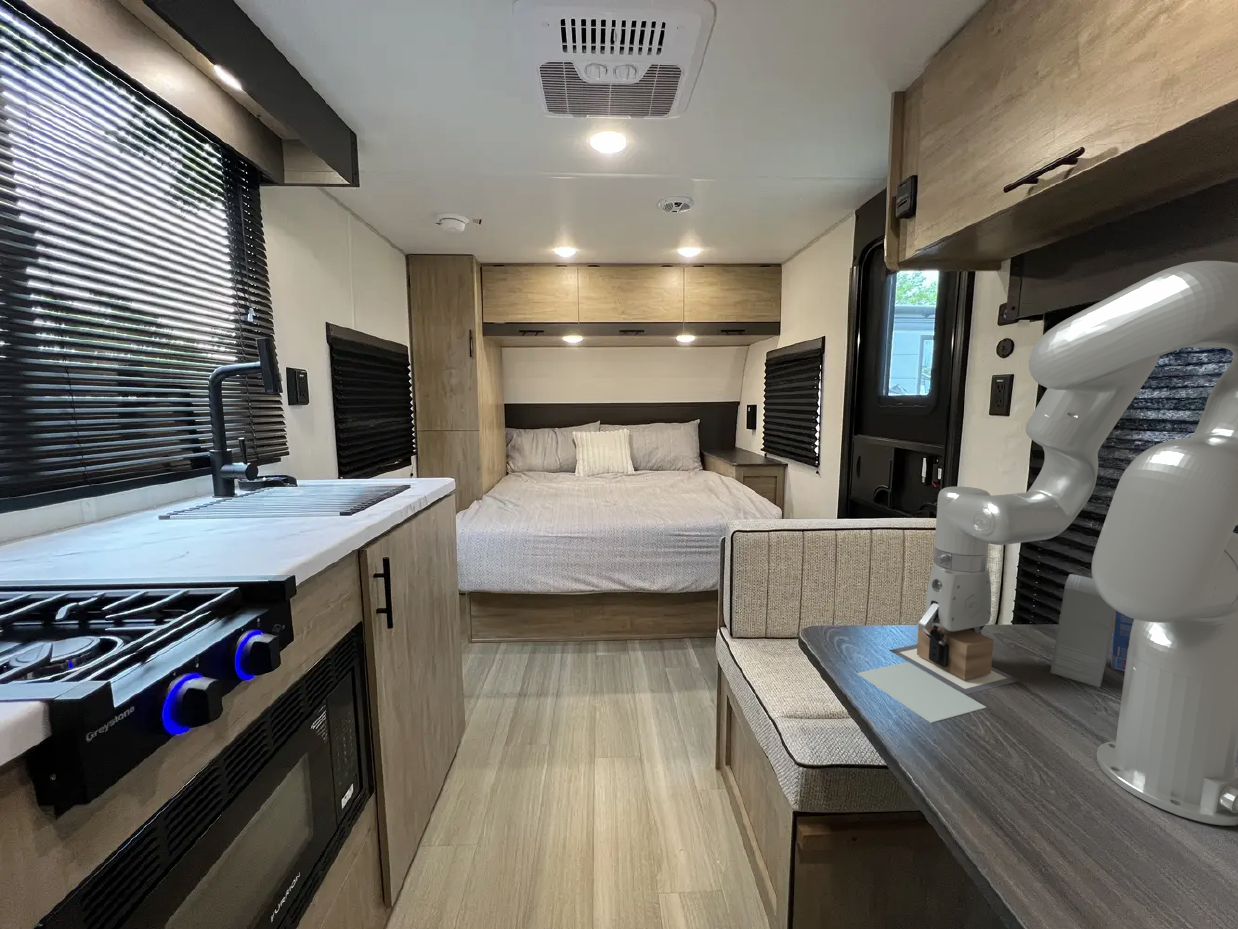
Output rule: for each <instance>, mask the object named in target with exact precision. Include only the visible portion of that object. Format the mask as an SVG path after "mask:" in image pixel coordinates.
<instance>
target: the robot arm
mask: <svg viewBox="0 0 1238 929" xmlns="http://www.w3.org/2000/svg"><path fill="white" fill-rule="evenodd" d="M1184 348H1199V349H1200V348H1207V349H1208V348H1209V349H1210V348H1211V349H1214V348H1215V349H1216V348H1223V349H1226V350H1229V351H1231V352H1232V354H1233V357H1232V360H1231V362H1230V364H1229V366H1227V368H1226V369H1225V371H1224V372H1223V373H1222V374H1221V375H1220V377H1219V378H1218V380H1217V381H1216V382H1215V384H1214V386H1213V388H1212V389H1211V391H1210V393H1209V395H1208V397H1207V400H1206V404H1205V407H1204V411H1203V413H1202V415H1201V416H1200V419H1199V422H1198V424H1197V426H1196V428H1195V429H1194V432H1193V434H1192V435H1191V436H1190V437H1182V438H1181V437H1180V438H1175V439H1172V440H1171V439H1170V440H1168V441H1163V442H1160V443H1158V444H1155V445H1153V446H1151V447H1149V448H1147V449H1146V450H1144V451H1143V452H1141V453H1140V454H1139V455H1137V456H1136V457H1135V458H1134V459H1133V460H1132V461H1131V463H1129V465H1128V466H1127V467H1126V468H1125V469H1124V472H1123V473H1122V475H1121V477H1120V478H1119V481H1118V484H1117V486H1116V488H1115V492H1114V494H1113V497H1112V499H1111V502H1110V504H1109V508H1108V511H1107V514H1106V517H1105V520H1104V523H1103V525H1102V528H1101V531H1100V533H1099V537H1098V539H1097V543H1096V546H1095V548H1094V551H1093V554H1092V555H1093V556H1092V561H1091V577H1092V579H1093V582H1094V585H1095V587H1096V589H1097V591H1098V593H1099V594H1100V596H1101V597H1102V598H1103V600H1104V601H1105V602H1106V603H1107V604H1108V605H1109V606H1111V607H1112V608H1113V609H1115V610H1116V611H1118V612H1119V613H1121V614H1123V615H1125V616H1128V617H1130V618H1133V619H1134V621H1133V625H1132V629H1131V634H1130V640H1129V647H1128V652H1127V660H1126V668H1125V672H1124V678H1123V684H1122V692H1121V701H1120V707H1119V708H1120V709H1119V715H1118V724H1117V731H1116V737H1115V738H1116V739H1115V740H1112V741H1107V742H1104V743H1102V744H1100V746H1098V747H1097V751H1096V762H1097V763H1098V766H1099V768H1101V770H1102V771H1103V773H1104V774H1105V775H1106V776H1108V777H1109V778H1110V780H1112V781H1113V782H1114V783H1115V784H1117V785H1118V786H1120V787H1121V788H1123V790H1125V791H1127V792H1129V793H1130V794H1132V795H1133V796H1135V797H1137V798H1138V799H1140V800H1142V801H1144V802H1147V803H1148V804H1150V805H1152V806H1155V807H1157V808H1159V809H1161V810H1164V811H1166V812H1169V813H1171V814H1174V815H1176V816H1179V817H1181V818H1186V819H1189V820H1193V821H1196V822H1200V823H1204V824H1209V825H1218V826H1238V767H1236V763H1237V755H1238V533H1235V532H1234V530H1235V528H1236V526H1238V262H1234V261H1233V262H1230V261H1224V260H1223V261H1221V260H1201V261H1200V260H1198V261H1192V262H1191V261H1190V262H1185V263H1181V264H1178V265H1174V266H1171V267H1169V268H1166V269H1163V270H1160V271H1158V272H1155V273H1153V274H1152V275H1150V276H1147V277H1146V278H1143V279H1140V281H1138V282H1136V283H1133V284H1132V285H1129V286H1127V287H1126V288H1123V289H1122V290H1120V291H1118V292H1116V293H1115V294H1112V295H1111V296H1109V297H1107V298H1105V299H1103V300H1101V301H1099V302H1096V303H1095V304H1093V305H1091V306H1088V307H1087V308H1085V309H1083V310H1081V311H1079V312H1077V313H1075V314H1073V315H1072V316H1070V317H1068V318H1066V319H1064V320H1062V321H1060V322H1059V323H1057V324H1056V325H1055V326H1053V327H1052V328H1050V329H1048V330H1047V331H1046V332H1045V333H1044V334H1043V335H1042V336H1041V337H1040V338H1039V339H1038V340H1037V342H1036V343H1035V344H1034V346H1033V347H1032V349H1031V352H1030V355H1029V360H1028V368H1029V369H1028V370H1029V373H1030V375H1031V378H1032V379H1033V380H1034V381H1035V383H1038V385H1040V386H1043V387H1044V388H1046V390H1045V392H1044V394H1043V395H1042V397H1041V399H1040V401H1039V402H1038V404H1037V406H1036V407H1035V408H1034V411H1033V412H1032V414H1031V416H1030V417H1029V419H1028V420H1027V423H1026V424H1025V432H1026V435H1027V436H1028V437H1029V439H1031V440H1032V441H1033V442H1034V443H1036V444H1037V445H1039V446H1041V447H1042V449H1043V452H1044V461H1043V465H1042V467H1041V470H1040V472H1039V474H1038V475H1037V477H1036V479H1035V480H1034V482H1033V483H1032V485H1031V486H1030V488H1029V489H1028V490H1027V491H1026V492H1017V493H1006V494H995V495H994V494H993V495H992V494H990V492H988V491H987V490H985V489H982V488H977V487H969V486H947V487H944V488H941V489H940V491H939V492H938V495H937V504H936V505H937V506H936V522H935V536H934V537H935V539H934V549H933V566H931V567H932V568H931V572H930V576H929V580H928V584H927V590H926V598H925V609H924V610H925V611H924V614H923V616H922V618H921V619H920V620H919V622H918V627H919V626H920V627H921V629H922V630H923V631H924V633H925V634H926V635H927V638H928V639H930V645H929V660H930V661H932V662H934V663H936V664H938V665H940V666H942V667H944V668H945V667H947V666H948V655H949V645H947V644H946V643H947V640H948V637H949V635H950V632H955V631H961V630H966V629H970V630H973V631H975V632H977V633H980V634H982V631H983V629H984V627H985V626H986V625H987V624H989V623H990V622H991V615H992V582H991V576H990V572H989V571H990V570H989V568H988V557H989V556H988V555H989V544H990V545H995V546H1005V545H1012V544H1021V543H1029V542H1035V541H1036V542H1037V541H1044V540H1049V539H1052V538H1054V537H1057V536H1059V535H1060V534H1062V533H1063V532H1064V531H1065V530H1066V529H1068V527H1069V526H1070V525H1071V524H1072V523H1073V522H1074V521H1075V519H1076V518H1077V516H1078V515H1079V514H1080V512H1081V511H1082V510H1083V508H1084V507H1085V505H1087V502H1088V501H1089V499H1090V498H1091V497H1092V494H1093V492H1094V489H1095V486H1096V482H1097V478H1098V471H1099V458H1098V456H1099V451H1100V449H1101V447H1102V445H1103V444H1104V442H1105V441H1106V439H1107V438H1108V436H1109V435H1110V433H1111V432H1112V431H1113V429H1114V427H1115V426H1116V425H1117V423H1118V422H1119V420H1120V419H1121V417H1122V416H1123V415H1124V414H1125V411H1127V408H1128V407H1129V406H1130V404H1131V403H1132V402H1133V400H1134V398H1135V397H1136V395H1137V394H1138V393H1139V391H1140V390H1141V388H1142V387H1143V386H1144V385H1145V382H1146V381H1147V380H1148V378H1149V377H1150V376H1151V374H1152V372H1153V371H1154V369H1155V367H1156V366H1157V363H1158V360H1159V358H1160V357H1161V356H1164V355H1166V354H1168V353H1172V352H1174V351H1178V350H1180V349H1184ZM939 622H941V624H940V623H939ZM938 627H940V628H942V629H943V631H942V633H941V635H940V634H939V633H938V632H937V630H938Z"/></svg>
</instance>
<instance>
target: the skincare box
mask: <svg viewBox="0 0 1238 929" xmlns="http://www.w3.org/2000/svg"><path fill="white" fill-rule="evenodd" d="M1115 614H1116V610H1115V609H1113V608H1112V607H1111V606H1109V605H1108V604H1107V603H1106V602H1105V601H1104V600H1103V598H1102V597H1101V596H1100V594H1099V593H1098V591H1097V589H1096V587H1095V585H1094V582H1093V578H1091V577H1087V576H1083V575H1078V574H1073V573H1072V574H1071V573H1069V575H1068V577H1067V579H1066V582H1065V584H1064V591H1063V597H1062V604H1061V609H1060V614H1059V615H1060V616H1059V620H1058V626H1057V632H1056V638H1055V642H1054V648H1053V653H1052V659H1051V664H1050V673H1051V674H1053V675H1056V676H1061V677H1062V678H1067V679H1068V680H1069V679H1070V680H1073V681H1076V682H1079V683H1084V684H1086V685H1091V686H1094V687H1097V688H1101V685H1102V682H1103V677H1104V672H1105V668H1106V665H1107V659H1108V657H1109V656H1108V655H1109V652H1110V651H1109V650H1110V647H1111V645H1110V644H1111V641H1112V638H1113V631H1114V621H1115Z"/></svg>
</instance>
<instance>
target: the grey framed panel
mask: <svg viewBox="0 0 1238 929" xmlns="http://www.w3.org/2000/svg"><path fill="white" fill-rule="evenodd" d="M917 644H918V643H917ZM917 644H913V645H912V644H911V645H908V646H907V645H906V646H903V647H898V648H892V649H889V650H888V652H889V651H890V652H891V653H893V654H895V655H896V656H898V657H900V658H902V659H904V660H905V661H906V662H909V663H910V664H912V665H914V666H916V667H917V668H919V669H921V670H923V671H924V672H926V673H928V674H930V675H931V676H933V677H935V678H937V679H938V680H940V681H942V682H944V683H945V684H947V685H949V686H951V687H952V688H954V689H956V690H958V691H959V692H961V693H963V694H965V695H966V696H968V695H971V694H973V693H978V692H982V691H985V690H989V689H993V688H997V687H1002V686H1004V685H1009V684H1013V683H1016V682H1020V679H1018V678H1016V677H1013V676H1011V675H1010V674H1007V673H1006V672H1004V671H1001V670H1000V669H999V668H998V669H997V668H996V667H993V666H992V665H991V674H986V675H982V676H978V677H974V678H970V679H966V680H964V679H962V678H960V677H958V676H956V675H954V674H952V673H950V672H949V671H947V670H945V669H943V668H941V667H939V666H937V665H935V664H934V663H932V662H930V661H928V660H926V659H924V658H922V657H920V656H919V655H917Z"/></svg>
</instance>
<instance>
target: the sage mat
mask: <svg viewBox="0 0 1238 929" xmlns="http://www.w3.org/2000/svg"><path fill="white" fill-rule="evenodd" d="M857 675H859V676H860V677H861V678H863V679H865V680H866V681H868V682H869V683H870V684H872V686H875V687H876V688H878V689H879V690H881V691H882V692H884V693H885V694H887V695H888V696H890V697H892V699H894V700H896V701H897V702H899V703H900V704H902V705H903V706H905V707H907V708H908V709H909V710H911V711H912V712H913V713H915V714H916V715H918V716H919V717H922V718H923V719H925V721H927V722H929V723H930V724H933V723H937V722H941V721H943V720H947V719H951V718H955V717H959V716H962V715H965V714H971V713H973V712H976V711H981V710H984V709H987V706H986V705H983V704H982V703H980V702H978V701H976V700H975V699H973V698H971V697H970V696H968V695H966V694H965V693H963V692H961V691H959V690H958V689H956V688H954V687H952V686H951V685H949V684H947V683H945V682H944V681H942V680H940V679H938V678H936V677H935V676H933V675H931V674H929V673H928V672H926V671H924V670H922V669H921V668H919V667H917V666H915V665H914V664H912V663H910V662H908V661H906V662H905V661H904V662H902V663H896V664H892V665H887V666H882V667H879V668H878V667H877V668H873V669H870V670H865V671H861V672H857Z"/></svg>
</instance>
